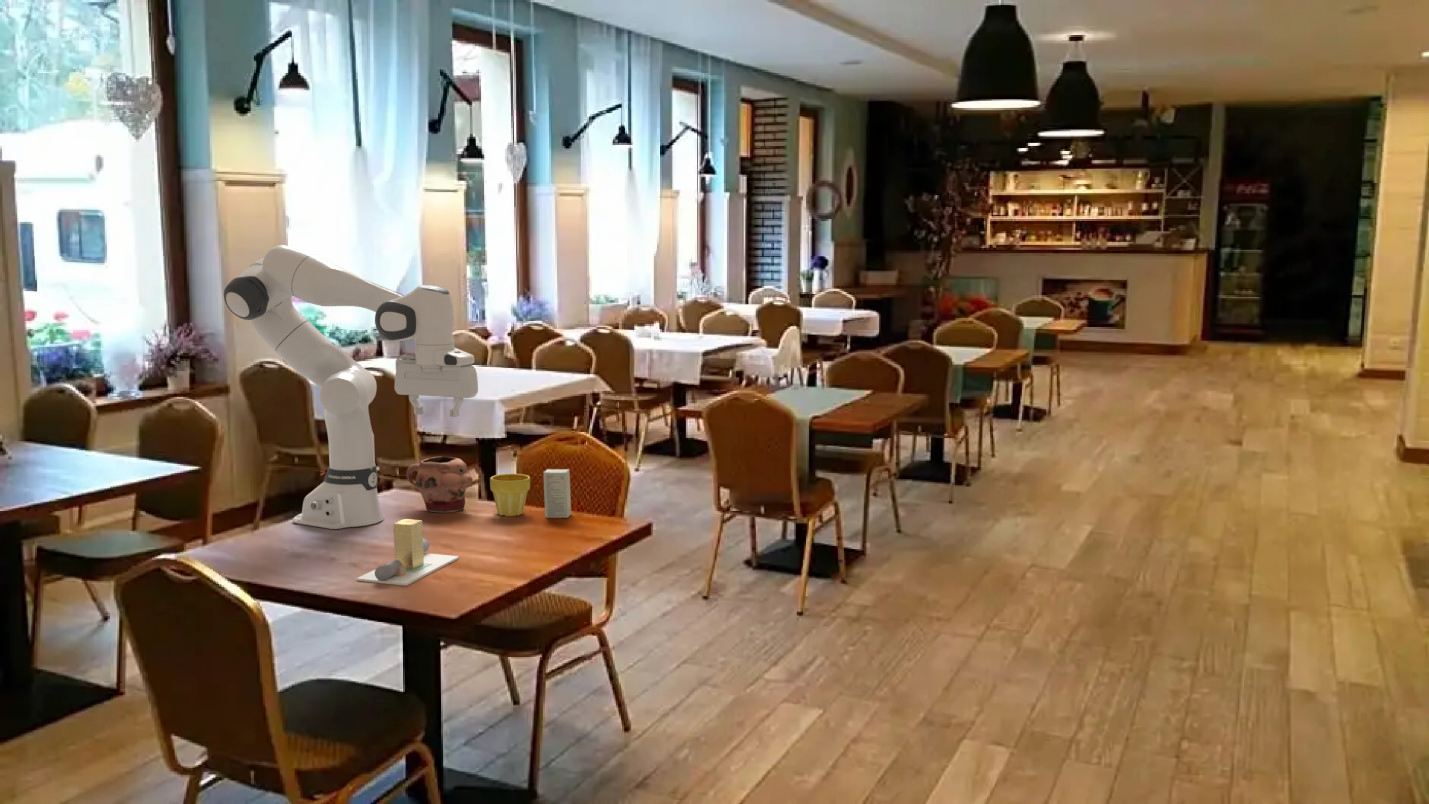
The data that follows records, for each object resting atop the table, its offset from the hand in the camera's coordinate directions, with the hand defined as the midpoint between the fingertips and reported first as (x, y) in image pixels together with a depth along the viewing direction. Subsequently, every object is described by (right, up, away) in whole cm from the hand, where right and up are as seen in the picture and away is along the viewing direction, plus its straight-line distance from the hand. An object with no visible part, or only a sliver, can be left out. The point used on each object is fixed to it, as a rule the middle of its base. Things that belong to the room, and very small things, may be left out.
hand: (436, 415), depth 274 cm
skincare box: (+24, -27, +33) cm, 49 cm away
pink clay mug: (-9, -26, +40) cm, 49 cm away
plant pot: (+11, -26, +36) cm, 46 cm away
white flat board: (-2, -34, -16) cm, 37 cm away
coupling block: (-2, -33, -16) cm, 37 cm away
